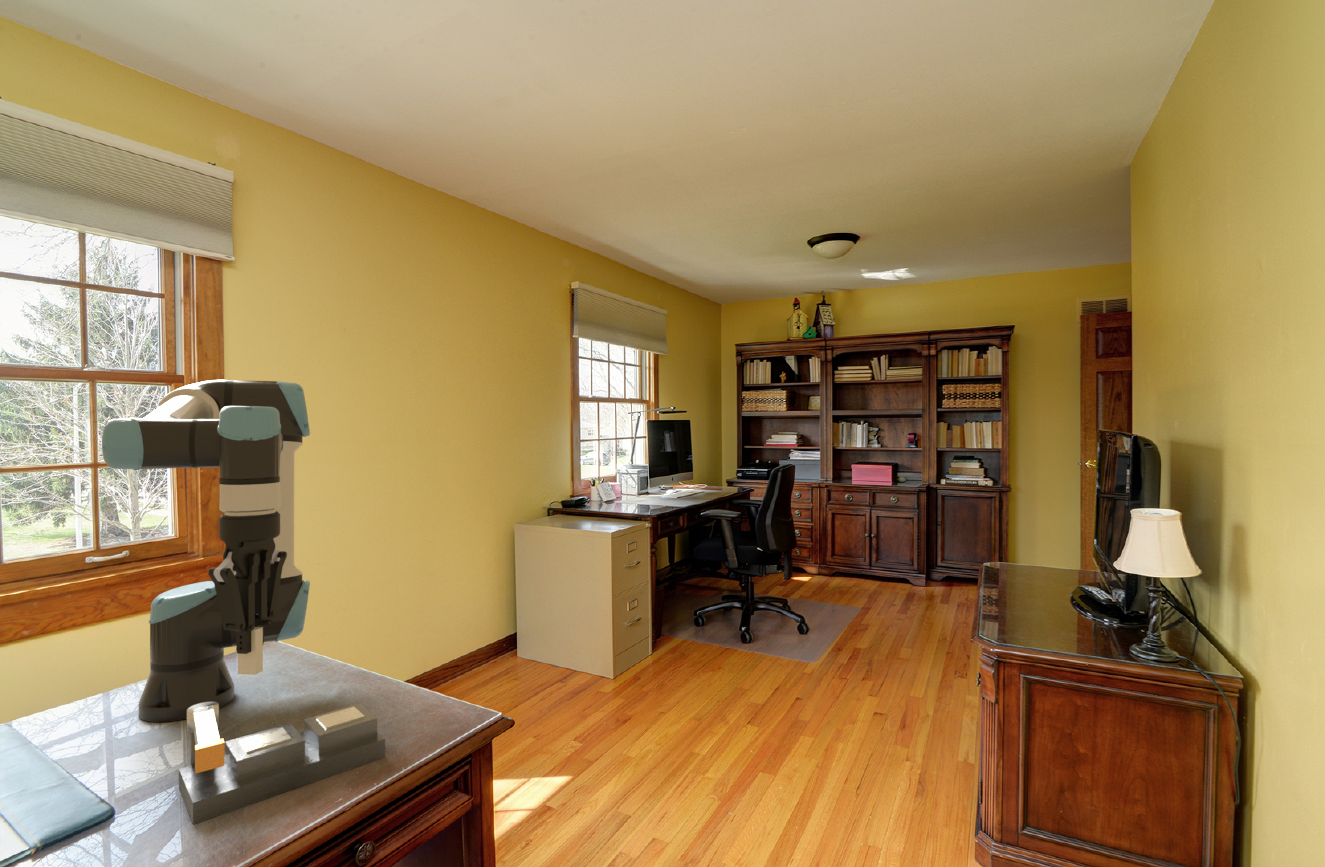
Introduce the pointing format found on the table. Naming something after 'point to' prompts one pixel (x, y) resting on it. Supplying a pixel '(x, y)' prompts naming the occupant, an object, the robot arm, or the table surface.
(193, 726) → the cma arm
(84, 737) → the table surface
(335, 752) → the grey stepped block base
